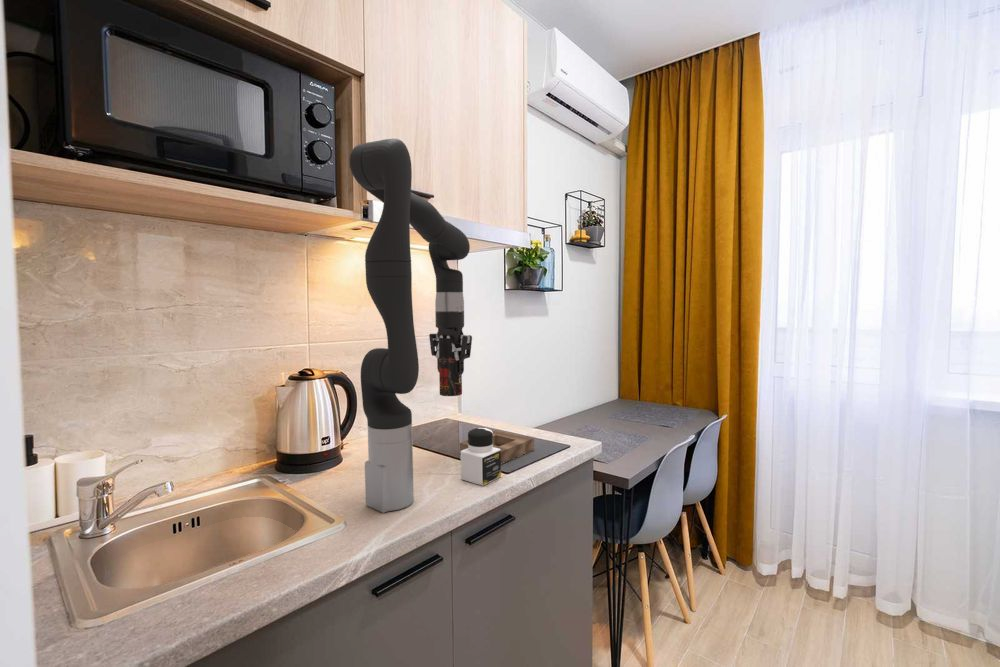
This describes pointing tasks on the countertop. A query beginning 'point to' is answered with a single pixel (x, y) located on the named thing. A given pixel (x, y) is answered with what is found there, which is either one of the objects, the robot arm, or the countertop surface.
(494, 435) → the frame
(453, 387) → the deodorant
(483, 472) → the medicine bottle
